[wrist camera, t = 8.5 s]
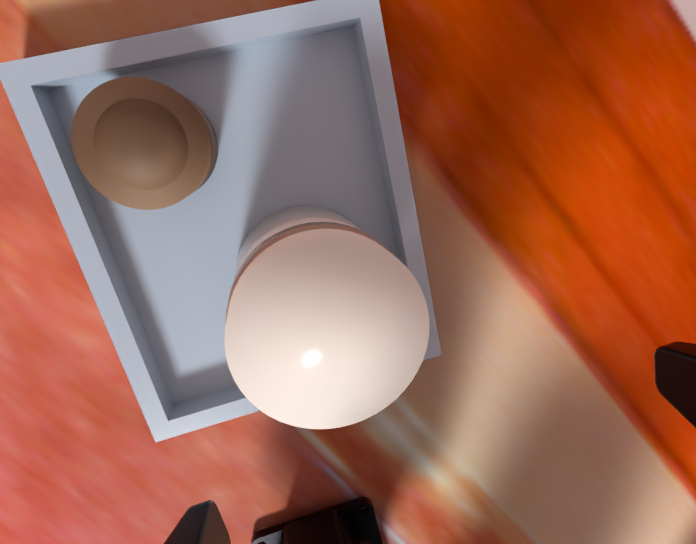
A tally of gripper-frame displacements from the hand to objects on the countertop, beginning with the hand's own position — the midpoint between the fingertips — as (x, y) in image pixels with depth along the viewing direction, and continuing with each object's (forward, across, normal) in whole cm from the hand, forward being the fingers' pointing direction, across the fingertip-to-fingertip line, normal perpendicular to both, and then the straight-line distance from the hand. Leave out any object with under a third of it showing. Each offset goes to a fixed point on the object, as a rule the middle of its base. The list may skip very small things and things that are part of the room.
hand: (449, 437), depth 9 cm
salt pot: (+12, +5, -7) cm, 15 cm away
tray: (+12, +3, -3) cm, 13 cm away
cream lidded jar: (+12, +2, 0) cm, 12 cm away
